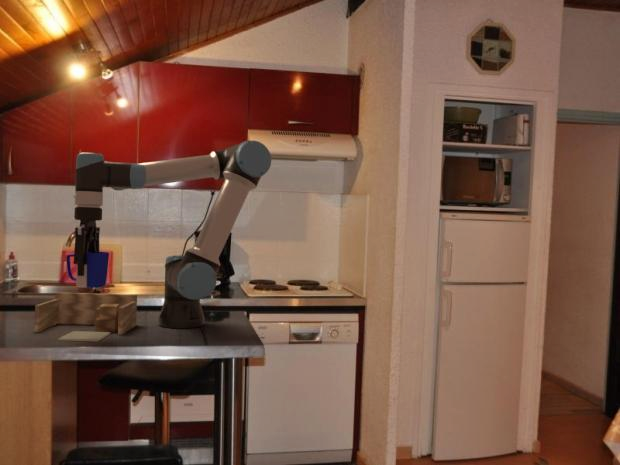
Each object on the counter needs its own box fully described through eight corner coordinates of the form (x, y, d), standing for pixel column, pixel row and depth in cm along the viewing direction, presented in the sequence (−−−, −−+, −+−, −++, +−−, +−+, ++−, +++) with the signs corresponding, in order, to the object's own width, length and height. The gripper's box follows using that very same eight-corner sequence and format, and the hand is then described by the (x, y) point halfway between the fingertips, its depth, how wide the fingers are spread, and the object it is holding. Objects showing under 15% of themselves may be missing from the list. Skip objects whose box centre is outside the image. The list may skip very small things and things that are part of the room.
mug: (72, 284, 174) (73, 250, 174) (112, 285, 174) (113, 252, 173) (59, 287, 166) (60, 252, 165) (101, 288, 165) (102, 253, 165)
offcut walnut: (122, 329, 185) (122, 316, 185) (114, 333, 178) (114, 320, 178) (103, 328, 185) (103, 315, 185) (94, 332, 178) (95, 319, 178)
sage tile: (110, 334, 175) (110, 332, 175) (97, 341, 164) (97, 339, 164) (73, 333, 175) (73, 331, 175) (58, 340, 164) (58, 338, 164)
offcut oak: (119, 316, 185) (119, 303, 185) (116, 319, 179) (116, 306, 179) (102, 316, 184) (102, 303, 184) (99, 319, 178) (99, 306, 178)
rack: (136, 325, 191) (137, 294, 191) (121, 334, 175) (122, 301, 175) (56, 322, 191) (56, 292, 190) (34, 332, 175) (35, 298, 175)
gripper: (87, 207, 179) (85, 282, 179) (61, 205, 159) (59, 289, 160) (112, 208, 179) (110, 282, 179) (89, 206, 159) (87, 290, 160)
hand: (86, 285), depth 169 cm, fingers closed on mug, 7 cm apart
